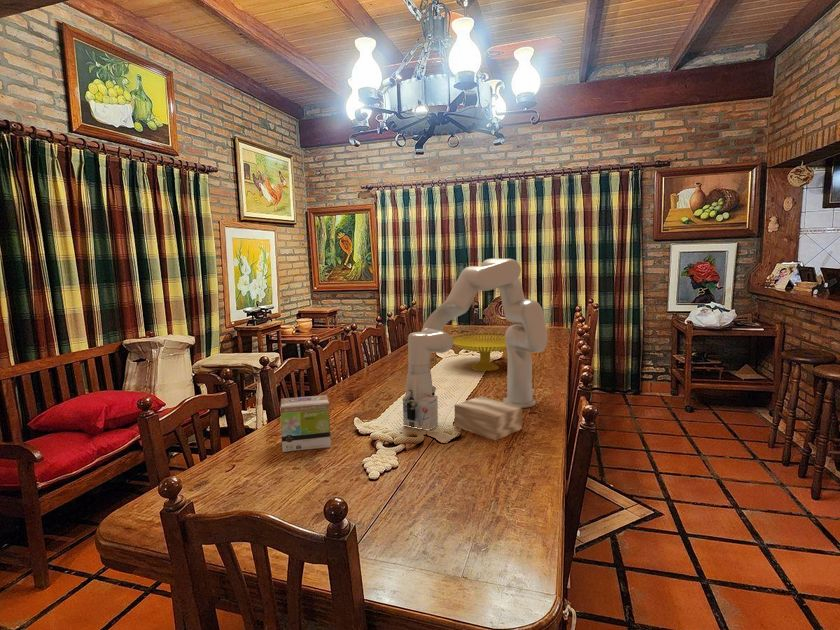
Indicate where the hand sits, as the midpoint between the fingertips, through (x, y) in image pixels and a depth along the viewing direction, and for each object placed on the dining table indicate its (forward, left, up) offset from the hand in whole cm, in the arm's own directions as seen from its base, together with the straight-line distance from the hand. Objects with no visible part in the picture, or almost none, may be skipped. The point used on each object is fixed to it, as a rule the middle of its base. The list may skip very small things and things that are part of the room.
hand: (420, 415), depth 166 cm
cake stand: (-85, -24, -4) cm, 89 cm away
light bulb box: (0, 0, -4) cm, 4 cm away
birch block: (-12, +20, -4) cm, 24 cm away
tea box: (+34, -20, -4) cm, 39 cm away
